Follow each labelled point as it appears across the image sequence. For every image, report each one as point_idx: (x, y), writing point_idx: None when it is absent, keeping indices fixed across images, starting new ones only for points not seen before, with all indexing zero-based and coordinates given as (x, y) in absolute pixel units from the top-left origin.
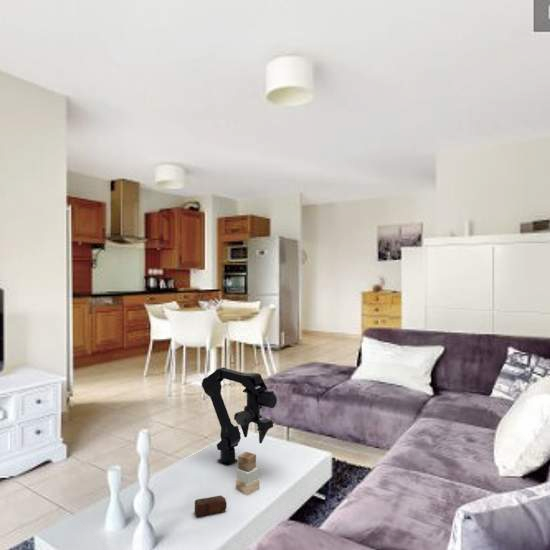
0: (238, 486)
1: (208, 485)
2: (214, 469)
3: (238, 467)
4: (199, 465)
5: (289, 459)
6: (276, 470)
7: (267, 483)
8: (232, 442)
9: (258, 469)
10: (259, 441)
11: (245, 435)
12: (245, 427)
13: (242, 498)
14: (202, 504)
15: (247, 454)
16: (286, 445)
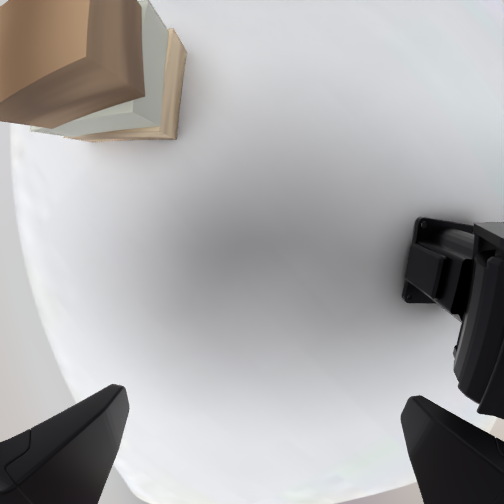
0: None
1: (330, 2)
2: (438, 146)
3: (134, 2)
4: (500, 143)
5: (200, 450)
6: (161, 354)
7: (96, 215)
8: (487, 280)
9: (33, 130)
10: (107, 396)
11: (416, 416)
12: (464, 495)
13: None
14: None
15: (33, 38)
16: (292, 499)
